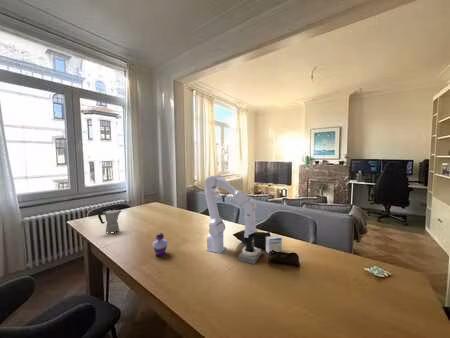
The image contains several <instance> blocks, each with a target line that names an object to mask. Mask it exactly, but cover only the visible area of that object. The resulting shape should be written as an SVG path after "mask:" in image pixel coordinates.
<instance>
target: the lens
mask: <svg viewBox="0 0 450 338" xmlns="http://www.w3.org/2000/svg"><path fill="white" fill-rule="evenodd" d="M245 247H246V251H247V252H253V251H254V247H255V241H254V237H253V240H252V245H251V248H247V246H246V245H245Z"/></svg>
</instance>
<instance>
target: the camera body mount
mask: <svg viewBox="0 0 450 338" xmlns="http://www.w3.org/2000/svg"><path fill="white" fill-rule="evenodd" d="M261 255H262V248H258V247H255V246H254V251H253V252H247V251H246V246H244V247H243V248H242V250H241V252H240V253H239V254H238V257H237V258H238V262H241V263H242V262H243V263H248V264H253V265H256V263H257V261H258V260H259V258H260V256H261Z"/></svg>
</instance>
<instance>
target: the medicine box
mask: <svg viewBox="0 0 450 338" xmlns="http://www.w3.org/2000/svg"><path fill="white" fill-rule="evenodd" d="M282 243H283V240H282V237H281V236H280V235H272V236H271V235H270V236H265V252H266V253H268V254H269V252H270V251H272V250H274V251H278V252H281V253H282V246H283V244H282Z"/></svg>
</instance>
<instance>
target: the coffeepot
mask: <svg viewBox="0 0 450 338" xmlns="http://www.w3.org/2000/svg"><path fill="white" fill-rule="evenodd" d="M121 212H122V210H121V209H117V210H116V209H114V208H113V207H110V209H109V210H106V211H103V212H102V211H101V212H99V214H98V215H97V216H98V219H99V222H100V223H101V224H105V222H106V226H105V227H106V228H105V233H106V232H108V233H111V232H116V231H118V230H119V231H120V226H119V222H118V219H119V216H120V214H121ZM102 216H104V217H105V221H103V220H104V219H103V218H102Z"/></svg>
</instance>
